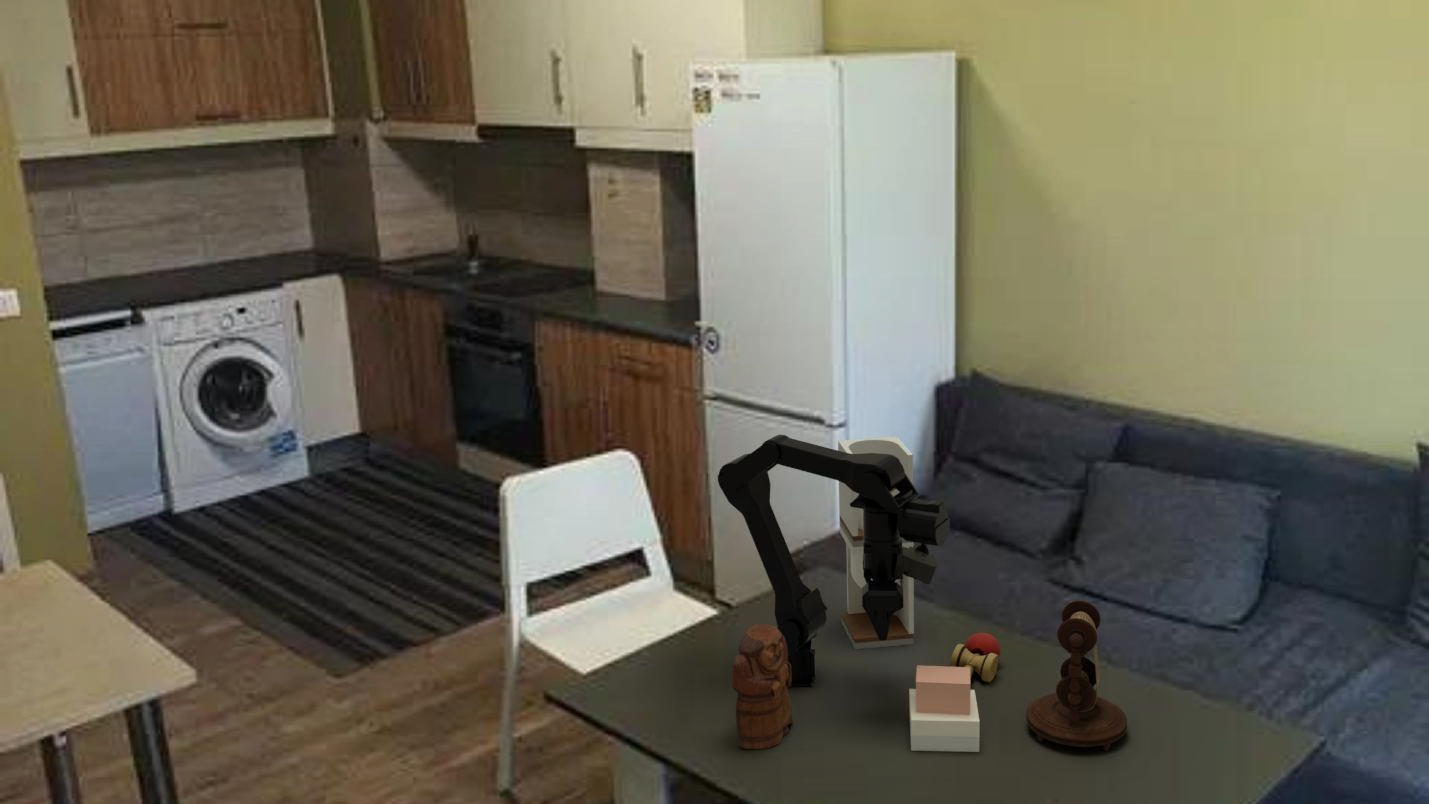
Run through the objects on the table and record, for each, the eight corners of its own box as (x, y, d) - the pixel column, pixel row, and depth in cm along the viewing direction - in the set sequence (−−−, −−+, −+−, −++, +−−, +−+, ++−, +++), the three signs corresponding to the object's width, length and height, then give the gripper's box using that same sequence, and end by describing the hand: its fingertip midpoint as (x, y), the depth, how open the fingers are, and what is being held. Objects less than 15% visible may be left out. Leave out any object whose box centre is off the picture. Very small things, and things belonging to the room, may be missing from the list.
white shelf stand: (841, 622, 237) (838, 440, 229) (897, 618, 238) (896, 436, 230) (854, 649, 226) (851, 459, 218) (913, 644, 227) (913, 454, 219)
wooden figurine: (770, 756, 192) (766, 645, 188) (731, 748, 195) (726, 639, 191) (800, 720, 203) (797, 614, 198) (763, 713, 205) (759, 608, 201)
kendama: (979, 717, 204) (1014, 657, 218) (970, 682, 202) (1006, 624, 217) (934, 714, 208) (971, 656, 222) (925, 680, 207) (963, 624, 221)
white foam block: (911, 750, 192) (911, 720, 191) (909, 717, 202) (909, 688, 201) (979, 752, 191) (979, 721, 190) (974, 719, 201) (974, 689, 199)
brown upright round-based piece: (1123, 762, 187) (1129, 635, 182) (1020, 748, 192) (1022, 624, 187) (1129, 714, 200) (1134, 595, 195) (1032, 702, 205) (1034, 585, 200)
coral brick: (916, 712, 193) (915, 681, 192) (916, 694, 199) (916, 665, 197) (970, 714, 192) (970, 684, 191) (969, 697, 197) (970, 667, 196)
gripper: (936, 557, 191) (936, 654, 195) (931, 515, 209) (931, 604, 213) (861, 557, 193) (862, 653, 196) (862, 515, 210) (863, 604, 214)
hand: (882, 627), depth 205 cm, fingers open, 9 cm apart
